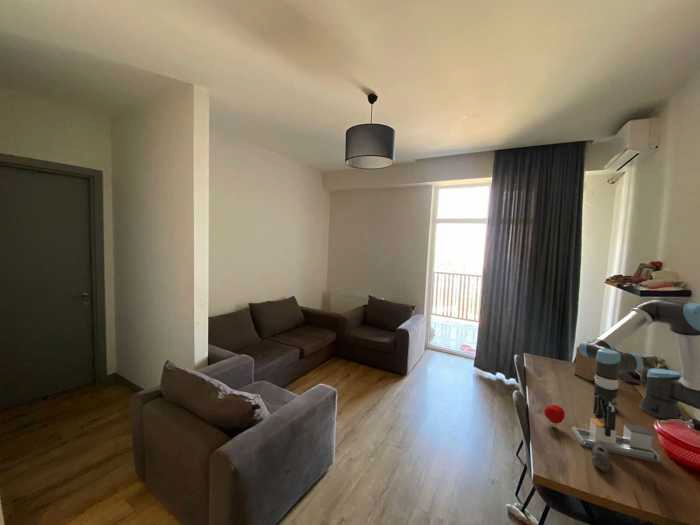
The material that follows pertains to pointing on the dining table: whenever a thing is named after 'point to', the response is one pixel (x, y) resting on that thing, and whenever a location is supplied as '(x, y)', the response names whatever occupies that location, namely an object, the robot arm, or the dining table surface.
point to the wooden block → (585, 366)
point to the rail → (624, 442)
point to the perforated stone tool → (600, 457)
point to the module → (600, 431)
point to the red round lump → (554, 414)
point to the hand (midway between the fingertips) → (602, 437)
